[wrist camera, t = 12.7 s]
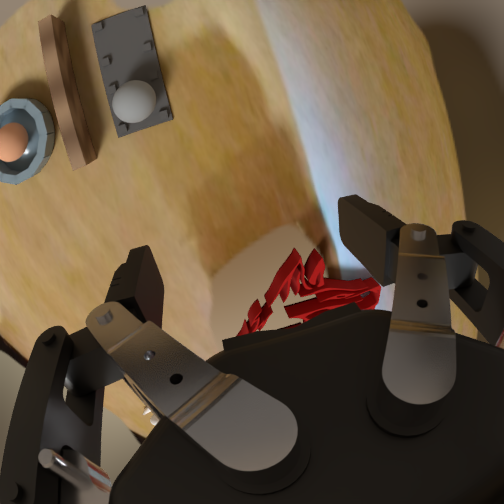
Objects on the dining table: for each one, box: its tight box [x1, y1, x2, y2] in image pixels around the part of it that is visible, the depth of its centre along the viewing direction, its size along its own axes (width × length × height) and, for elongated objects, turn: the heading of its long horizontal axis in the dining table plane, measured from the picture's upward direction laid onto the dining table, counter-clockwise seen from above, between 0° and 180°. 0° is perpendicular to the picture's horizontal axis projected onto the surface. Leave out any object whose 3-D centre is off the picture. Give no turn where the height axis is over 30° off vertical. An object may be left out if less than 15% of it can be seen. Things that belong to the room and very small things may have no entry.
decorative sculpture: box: [236, 248, 381, 336], centre depth 51 cm, size 31×3×30 cm
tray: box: [91, 5, 173, 138], centre depth 28 cm, size 16×7×1 cm, turn 12°
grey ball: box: [112, 80, 156, 123], centre depth 29 cm, size 5×5×5 cm
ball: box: [0, 122, 28, 162], centre depth 26 cm, size 5×5×5 cm
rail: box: [38, 15, 97, 171], centre depth 26 cm, size 20×2×4 cm, turn 12°
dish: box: [0, 98, 55, 185], centre depth 28 cm, size 11×11×3 cm
